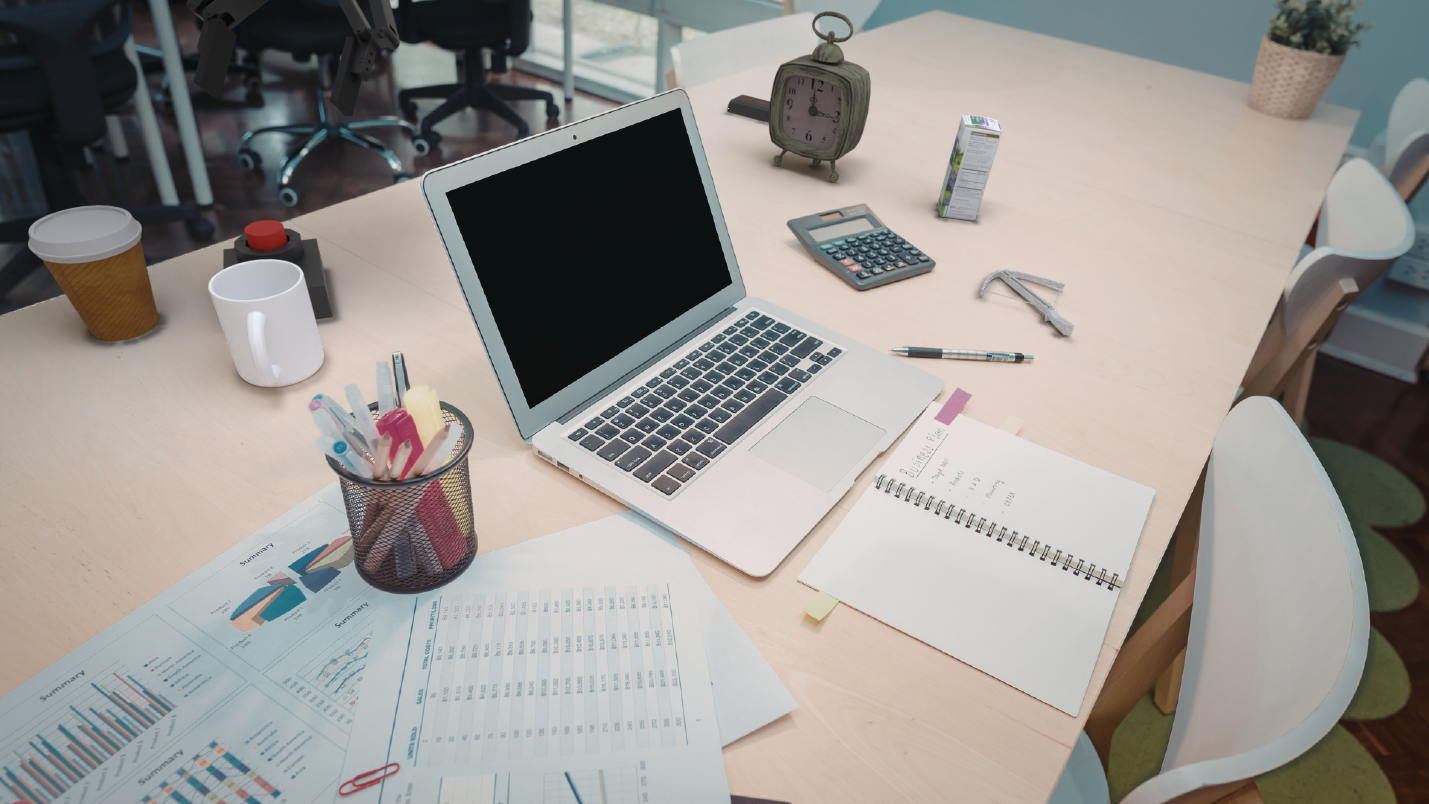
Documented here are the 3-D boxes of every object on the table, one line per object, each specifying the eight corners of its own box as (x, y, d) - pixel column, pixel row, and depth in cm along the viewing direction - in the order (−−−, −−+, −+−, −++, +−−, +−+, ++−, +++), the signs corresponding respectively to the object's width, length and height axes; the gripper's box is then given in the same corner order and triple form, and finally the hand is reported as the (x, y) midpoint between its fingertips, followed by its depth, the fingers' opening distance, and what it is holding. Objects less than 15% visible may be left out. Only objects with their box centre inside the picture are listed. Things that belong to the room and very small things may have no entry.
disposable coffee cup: (148, 293, 94) (109, 195, 86) (193, 323, 89) (155, 223, 82) (56, 326, 87) (4, 223, 80) (98, 360, 83) (48, 255, 76)
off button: (248, 238, 94) (243, 222, 93) (286, 234, 96) (282, 218, 94) (249, 254, 91) (244, 237, 90) (288, 249, 93) (284, 232, 92)
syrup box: (936, 202, 132) (959, 112, 123) (973, 207, 132) (999, 117, 123) (938, 217, 127) (963, 125, 119) (976, 222, 127) (1004, 130, 118)
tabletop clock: (762, 165, 139) (780, 7, 124) (786, 151, 146) (806, -1, 130) (838, 188, 134) (867, 25, 119) (860, 172, 140) (890, 16, 125)
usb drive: (739, 105, 164) (741, 91, 162) (792, 119, 160) (794, 105, 158) (727, 111, 160) (728, 97, 159) (780, 126, 156) (782, 111, 154)
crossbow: (958, 282, 112) (962, 269, 111) (1037, 277, 115) (1042, 264, 114) (1023, 339, 99) (1027, 324, 98) (1110, 331, 103) (1115, 317, 101)
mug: (320, 407, 80) (295, 318, 74) (226, 417, 78) (192, 326, 71) (328, 340, 89) (306, 256, 83) (244, 348, 87) (215, 262, 80)
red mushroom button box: (233, 279, 97) (218, 233, 94) (323, 267, 101) (312, 222, 98) (234, 332, 89) (217, 284, 85) (332, 317, 93) (321, 270, 89)
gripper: (182, -147, 77) (120, 60, 74) (433, -118, 74) (379, 96, 72) (233, -88, 84) (179, 102, 81) (463, -61, 82) (416, 136, 79)
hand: (273, 99), depth 76 cm, fingers open, 13 cm apart
